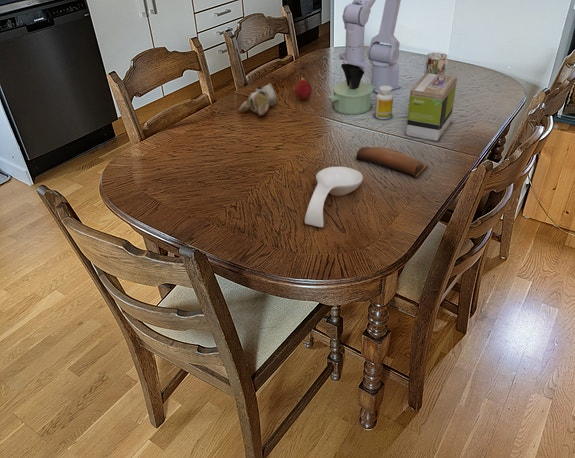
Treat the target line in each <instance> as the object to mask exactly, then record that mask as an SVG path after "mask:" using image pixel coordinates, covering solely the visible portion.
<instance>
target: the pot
mask: <svg viewBox="0 0 575 458" xmlns="http://www.w3.org/2000/svg"><path fill="white" fill-rule="evenodd" d="M372 86H373V85H372ZM374 90H376V87H375V86H373V92H375V91H374ZM373 92H372V93H371V94H369V95H366V96H362V97H344V96H340V95H337V94H335V93H334V92H333V94H332V95H328V97H327V98H328V100H329V101H331V102H333V109H334V110H335V111H337V112H339V113H341V114H346V115H359V114H363V113H366V112H368V111H370V109H371V106H372V97H373V96H372V94H373Z"/></svg>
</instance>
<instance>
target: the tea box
mask: <svg viewBox="0 0 575 458" xmlns="http://www.w3.org/2000/svg"><path fill="white" fill-rule="evenodd" d="M457 82H458V76H453V75H446V74H445V75H437V74H429V73H426V74H425V75H424V74H423V76H422V77H421V78H420V79H419V80H418V81H417V82H416V83H415V84H414V85H413V87H412V88H410V91H409V99H408V107H407V109H408V111H407V120H406V131H405V132H406V133H405V135H406V136H408V137H412V138H413V137H414V138H419V139H424V140H429V141H436V142H437V141H438V140H439V139H440V138H441V136H442V135H443V133H444V132H445V131H446V129H447V128H448V126H449V125H450V123H451V122H452V118H453V110H454V103H455V96H456V88H457Z"/></svg>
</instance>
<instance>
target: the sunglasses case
mask: <svg viewBox="0 0 575 458" xmlns="http://www.w3.org/2000/svg"><path fill="white" fill-rule="evenodd" d="M356 159H357V160H360V161H366V162H371V163H374V164H378V165H380V166H384V167H387V168H391V169H393V170H396V171H399V172H403V173H404V174H405V173H406V174H409V175H411V176H414V177H415V178H417V177H419V176H420V175H421V174H422V173H423V172H424V170H425V169H426V168H427V164H425V163H424V162H422V161H421V160H419V159H416V158H414V157H411V156H409V155H406V154H405V153H403V152H402V151H398V150H395V149H392V148H386V147H381V146H365V147H364V146H363V147H361V148H359V149H358V150H357V153H356Z"/></svg>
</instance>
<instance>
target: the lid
mask: <svg viewBox="0 0 575 458" xmlns="http://www.w3.org/2000/svg"><path fill="white" fill-rule="evenodd" d="M370 84H371V83H368V82H366V81H362V80H361V81H360V85H359V88H356V89H353V88H352V78H351V77H350V82H349V86H347V81H346V80H345V81H341V82H338V83H336V84H334V85H333V86H332V92H333V94H334V93H335V94H337V95H340V96H344V97H362V96H366V95H369V94H371V93H372V94H373V92H374V91H373V86H372V85H370Z"/></svg>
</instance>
